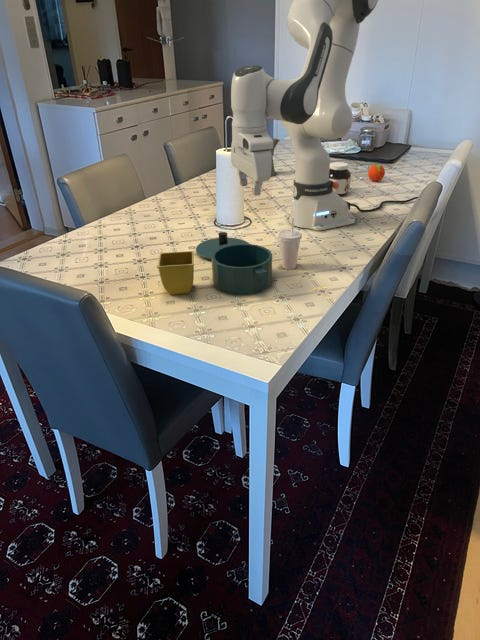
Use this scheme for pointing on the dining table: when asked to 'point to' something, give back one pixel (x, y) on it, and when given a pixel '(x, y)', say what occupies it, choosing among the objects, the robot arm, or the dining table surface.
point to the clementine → (376, 172)
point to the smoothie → (289, 246)
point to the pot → (242, 268)
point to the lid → (216, 245)
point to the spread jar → (340, 177)
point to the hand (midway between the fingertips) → (249, 190)
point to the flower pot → (177, 271)
